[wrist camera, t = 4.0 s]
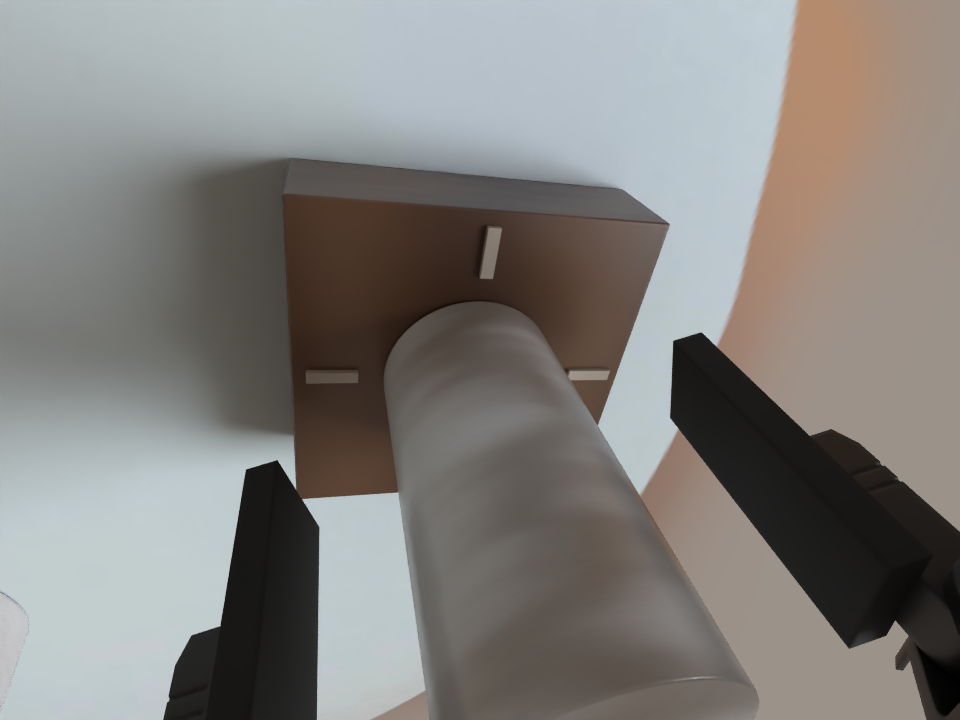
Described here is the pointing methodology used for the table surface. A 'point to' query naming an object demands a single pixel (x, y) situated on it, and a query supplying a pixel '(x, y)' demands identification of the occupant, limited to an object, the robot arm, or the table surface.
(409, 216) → the panel
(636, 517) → the tap knob
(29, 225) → the table surface
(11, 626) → the coffee cup
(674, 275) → the table surface
